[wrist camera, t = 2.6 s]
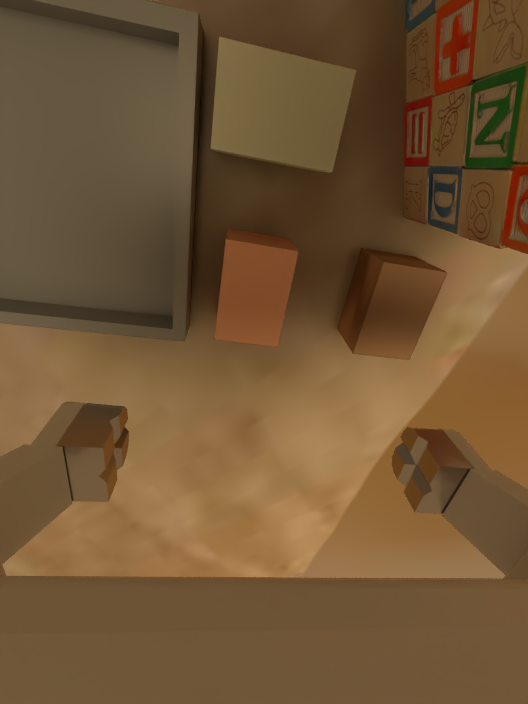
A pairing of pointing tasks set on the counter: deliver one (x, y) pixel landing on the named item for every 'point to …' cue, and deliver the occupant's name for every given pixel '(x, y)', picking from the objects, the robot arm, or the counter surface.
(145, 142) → the charcoal tray
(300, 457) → the counter surface
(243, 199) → the counter surface
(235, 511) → the counter surface
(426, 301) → the walnut brick
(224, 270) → the terracotta brick
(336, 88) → the sage brick
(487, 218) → the stack of blocks
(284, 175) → the counter surface
